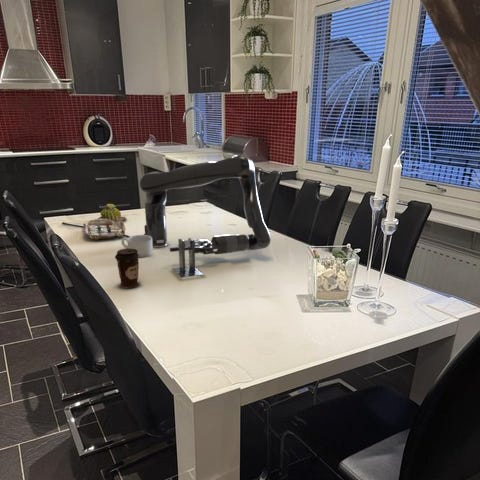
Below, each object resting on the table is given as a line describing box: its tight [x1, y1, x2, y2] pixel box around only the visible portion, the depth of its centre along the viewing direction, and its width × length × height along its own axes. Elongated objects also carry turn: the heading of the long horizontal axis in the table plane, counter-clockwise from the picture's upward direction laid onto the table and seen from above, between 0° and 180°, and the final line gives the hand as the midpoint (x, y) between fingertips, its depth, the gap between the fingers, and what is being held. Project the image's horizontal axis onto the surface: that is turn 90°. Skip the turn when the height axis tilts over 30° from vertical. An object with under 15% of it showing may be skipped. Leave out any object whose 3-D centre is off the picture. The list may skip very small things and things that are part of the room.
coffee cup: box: [114, 248, 140, 289], centre depth 167 cm, size 9×8×13 cm
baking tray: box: [81, 218, 127, 241], centre depth 236 cm, size 30×22×5 cm
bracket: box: [172, 237, 204, 279], centre depth 180 cm, size 12×9×14 cm
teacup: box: [120, 234, 154, 259], centre depth 203 cm, size 14×11×8 cm
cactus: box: [97, 203, 127, 223], centre depth 266 cm, size 17×16×10 cm
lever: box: [169, 239, 191, 253], centre depth 182 cm, size 12×8×2 cm, turn 24°
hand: (187, 248), depth 188 cm, fingers open, 8 cm apart
